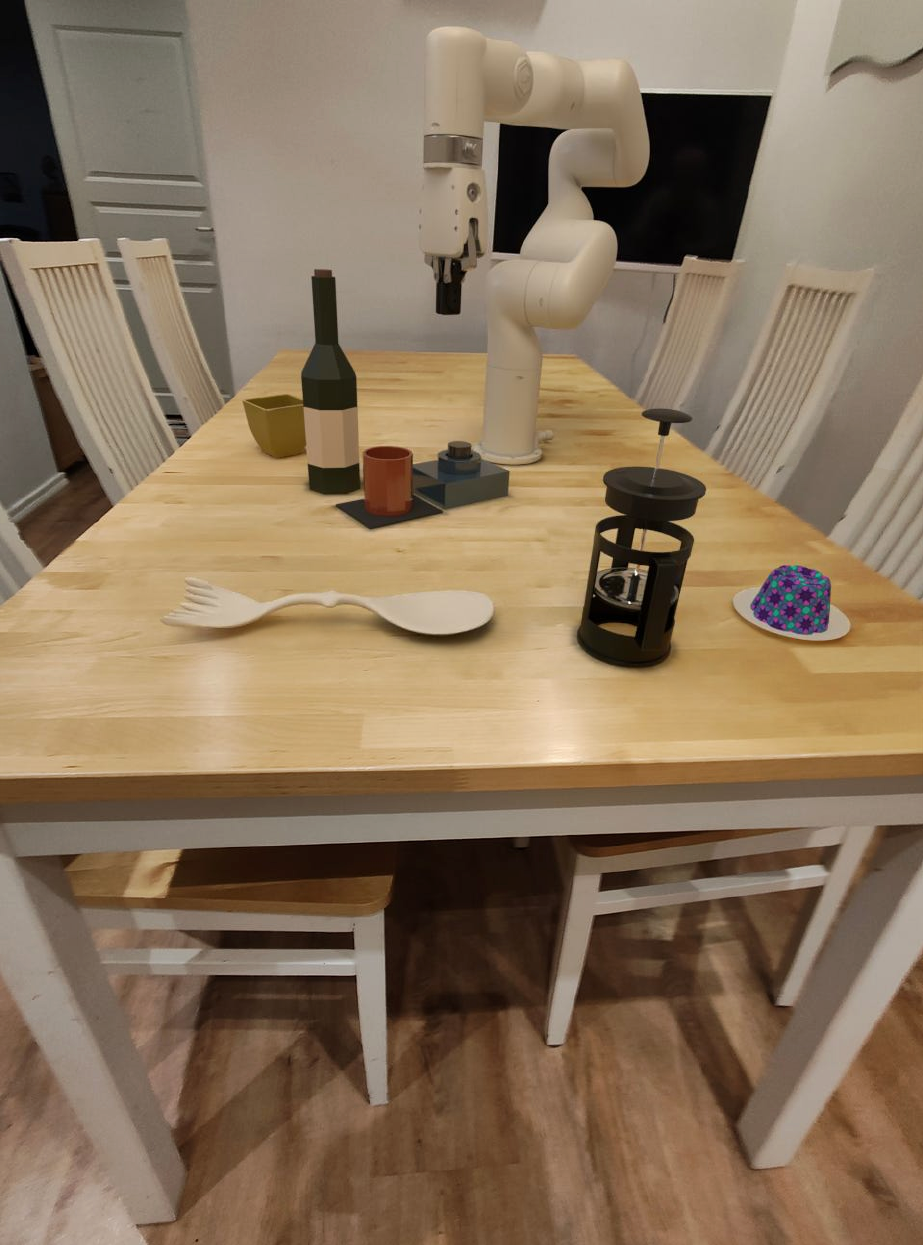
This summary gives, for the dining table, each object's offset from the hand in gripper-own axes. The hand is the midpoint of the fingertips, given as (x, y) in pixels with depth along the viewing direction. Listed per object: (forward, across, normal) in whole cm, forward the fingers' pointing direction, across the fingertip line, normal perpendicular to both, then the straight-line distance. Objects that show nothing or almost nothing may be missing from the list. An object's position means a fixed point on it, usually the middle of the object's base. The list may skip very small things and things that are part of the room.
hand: (448, 313), depth 95 cm
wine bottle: (+25, +8, +15) cm, 30 cm away
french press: (+25, -49, +12) cm, 56 cm away
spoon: (+25, -30, +34) cm, 52 cm away
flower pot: (+25, +28, +15) cm, 41 cm away
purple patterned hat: (+25, -55, -8) cm, 61 cm away
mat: (+25, -5, +13) cm, 29 cm away
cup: (+25, -5, +13) cm, 28 cm away
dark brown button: (+20, -4, 0) cm, 20 cm away
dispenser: (+25, -4, 0) cm, 25 cm away
